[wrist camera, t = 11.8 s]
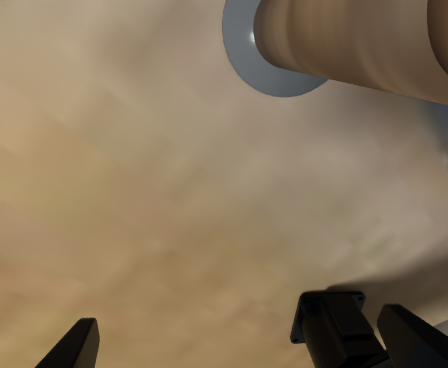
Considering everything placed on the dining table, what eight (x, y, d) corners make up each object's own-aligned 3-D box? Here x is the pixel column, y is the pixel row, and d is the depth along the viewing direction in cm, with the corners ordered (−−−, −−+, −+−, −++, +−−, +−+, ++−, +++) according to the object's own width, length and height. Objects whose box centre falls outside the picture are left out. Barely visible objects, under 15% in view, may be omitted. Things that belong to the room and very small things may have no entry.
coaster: (335, 98, 19) (339, 100, 19) (218, 92, 18) (219, 93, 18) (368, -49, 16) (374, -52, 15) (227, -66, 15) (228, -70, 14)
